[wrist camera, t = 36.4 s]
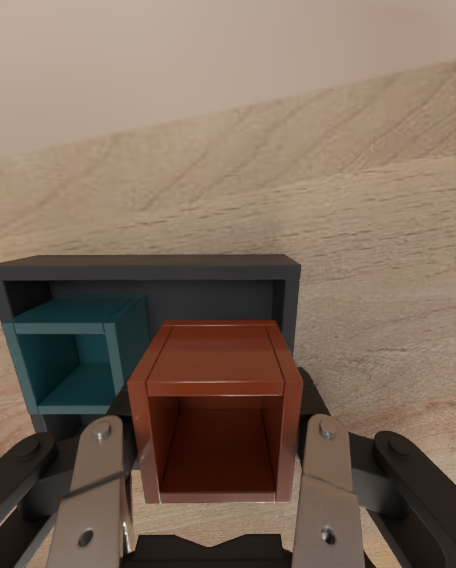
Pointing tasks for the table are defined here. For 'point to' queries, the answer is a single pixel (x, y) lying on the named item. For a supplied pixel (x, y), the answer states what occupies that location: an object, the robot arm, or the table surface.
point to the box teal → (77, 350)
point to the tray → (156, 295)
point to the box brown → (216, 413)
